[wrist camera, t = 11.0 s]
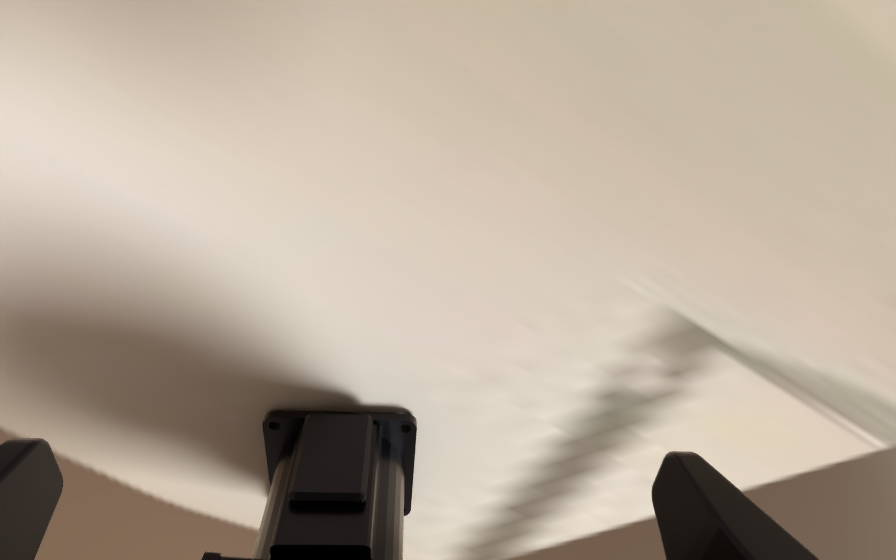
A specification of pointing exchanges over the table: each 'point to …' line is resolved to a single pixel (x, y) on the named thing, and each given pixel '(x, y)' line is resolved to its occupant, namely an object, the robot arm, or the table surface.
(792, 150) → the table surface
